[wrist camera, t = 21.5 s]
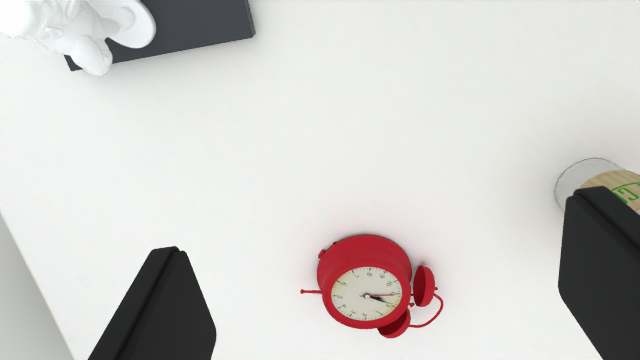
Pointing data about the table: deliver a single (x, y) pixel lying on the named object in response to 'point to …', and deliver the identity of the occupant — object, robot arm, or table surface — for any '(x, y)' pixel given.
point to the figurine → (79, 27)
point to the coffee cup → (599, 181)
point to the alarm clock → (372, 285)
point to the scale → (186, 27)
